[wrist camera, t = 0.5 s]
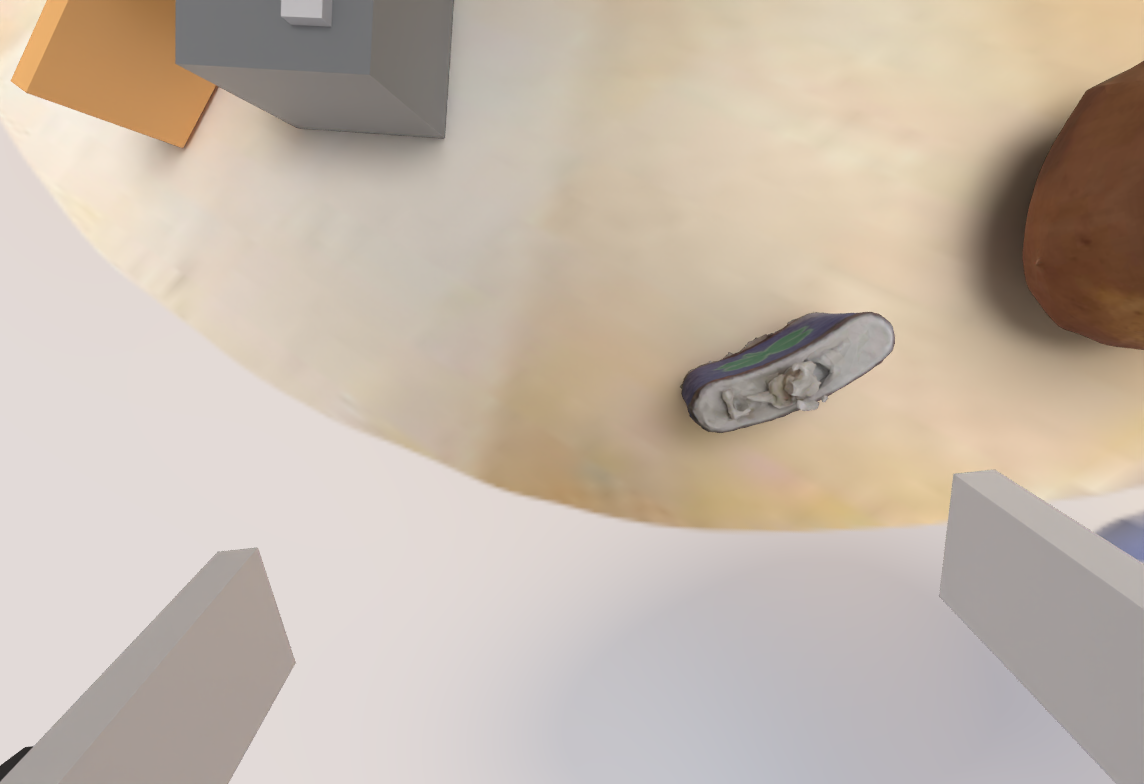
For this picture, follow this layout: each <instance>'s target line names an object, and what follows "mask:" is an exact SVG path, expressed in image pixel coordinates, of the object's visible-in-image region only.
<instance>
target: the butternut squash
mask: <svg viewBox="0 0 1144 784" xmlns="http://www.w3.org/2000/svg"><path fill="white" fill-rule="evenodd" d="M1023 266H1024V272H1025V279H1026V283H1027V286H1028V288H1029V290H1030V291H1031V293H1032V294H1033V296H1034V297H1035V298H1036V300H1037V301H1038V302H1039V304H1040V305H1041V307H1042V308H1043V309H1044V311H1045V312H1046V313H1047V314H1048V316H1049V317H1050V318H1051V319H1052V320H1053V321H1054V322H1055V323H1056V324H1057V325H1058V326H1059V327H1061V328H1063V329H1065V330H1068V331H1072V332H1075V333H1078V334H1080V335H1083V336H1085V337H1088V338H1090V339H1092V340H1095V341H1097V342H1099V343H1102V344H1106V345H1110V346H1116V347H1124V348H1133V349H1141V350H1144V61H1143V62H1141V63H1139V64H1138V65H1136V66H1134V67H1133V68H1131V69H1129V70H1127V71H1125V72H1123V73H1121V74H1119V75H1116V76H1114V77H1112V78H1110V79H1108V80H1106V81H1104V82H1102V83H1100V84H1098V85H1096V86H1094V87H1092V88H1090V89H1089V90H1087V91H1086V92H1085V94H1084V95H1083V97H1082V98H1081V100H1080V101H1079V103H1078V105H1077V106H1076V108H1075V109H1074V111H1073V113H1072V114H1071V116H1070V117H1069V119H1068V120H1067V122H1066V124H1065V125H1064V127H1063V128H1062V130H1061V132H1060V133H1059V135H1058V137H1057V138H1056V140H1055V141H1054V143H1053V145H1052V147H1051V149H1050V151H1049V153H1048V155H1047V157H1046V159H1045V161H1044V163H1043V166H1042V168H1041V170H1040V173H1039V175H1038V178H1037V180H1036V184H1035V187H1034V191H1033V194H1032V198H1031V201H1030V205H1029V210H1028V215H1027V220H1026V226H1025V235H1024V244H1023Z"/></svg>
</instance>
